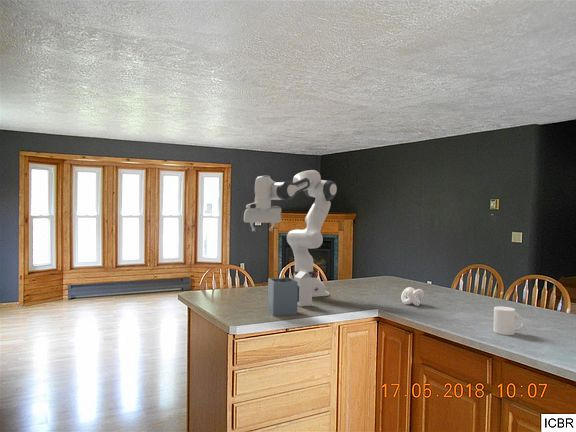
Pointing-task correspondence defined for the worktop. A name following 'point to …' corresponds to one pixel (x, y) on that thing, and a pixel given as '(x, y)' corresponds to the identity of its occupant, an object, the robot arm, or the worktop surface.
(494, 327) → the mug
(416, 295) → the white knot
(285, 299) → the dark grey upright box
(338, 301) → the worktop surface
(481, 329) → the worktop surface
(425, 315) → the worktop surface
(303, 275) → the milk carton
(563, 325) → the worktop surface
